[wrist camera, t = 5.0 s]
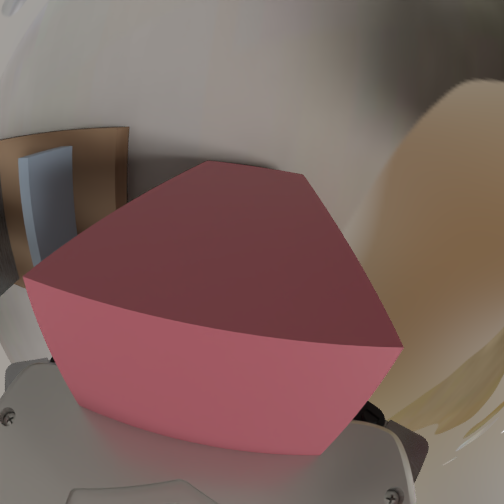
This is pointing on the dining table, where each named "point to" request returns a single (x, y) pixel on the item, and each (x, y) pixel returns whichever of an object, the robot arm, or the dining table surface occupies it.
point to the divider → (47, 200)
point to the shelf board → (84, 179)
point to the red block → (218, 314)
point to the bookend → (6, 253)
